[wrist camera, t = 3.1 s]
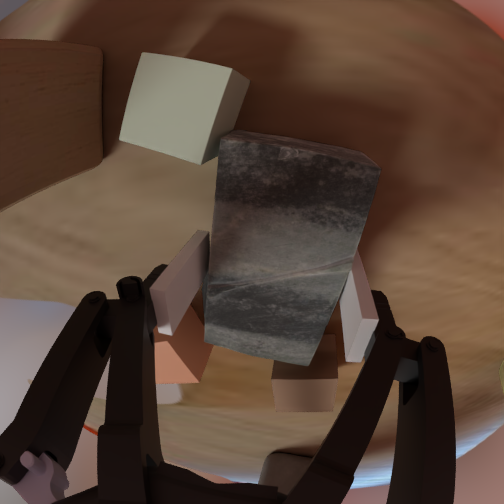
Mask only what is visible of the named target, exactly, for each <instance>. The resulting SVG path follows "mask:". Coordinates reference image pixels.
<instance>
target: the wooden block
mask: <svg viewBox="0 0 504 504" xmlns="http://www.w3.org/2000/svg"><path fill="white" fill-rule="evenodd" d="M102 69H103V53H102V50H101V49H100V48H99V47H95V46H89V45H82V44H75V43H67V42H58V41H47V40H31V39H0V212H2V211H4V210H5V209H7V208H9V207H11V206H13V205H15V204H17V203H18V202H20V201H22V200H24V199H26V198H28V197H30V196H32V195H34V194H36V193H38V192H40V191H43V190H45V189H47V188H49V187H51V186H53V185H56V184H58V183H60V182H62V181H65V180H67V179H69V178H72V177H74V176H77V175H79V174H82V173H84V172H87V171H89V170H92V169H93V168H95V167H97V166H98V165H99V164H100V163H101V162H102V158H103V139H102Z"/></svg>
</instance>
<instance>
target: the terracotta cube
mask: <svg viewBox="0 0 504 504" xmlns="http://www.w3.org/2000/svg"><path fill="white" fill-rule="evenodd" d="M153 332H154V336H155V379H156V384H174V383H199V382H200V380H201V377H202V374H203V372H204V369H205V367H206V364H207V361H208V359H209V356H210V353H211V351H212V348H213V346H214V345H213V344H209V343H206V342H204V334H205V327H204V326H203V324H202V322H201V321H200V319H199V318H198V316H197V314H196V313H195V311H194V310H193V308H192V306H191V305H189V307H188V309H187V310H186V312H185V314H184V316H183V318H182V319H181V321H180V323H179V325H178V326H177V328H176V330H175V332H174V334H173V335H172V336H171V335H167V334H163V333H159V331H158V327H157V325H156V327H155V328H154V330H153Z"/></svg>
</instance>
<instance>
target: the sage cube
mask: <svg viewBox="0 0 504 504" xmlns="http://www.w3.org/2000/svg"><path fill="white" fill-rule="evenodd" d="M249 84H250V80H249V79H247V78H246V77H244V76H243V75H241V74H240V73H238V72H237V71H235V70H234V69H232V68H228V67H224V66H220V65H216V64H211V63H207V62H202V61H197V60H192V59H186V58H181V57H175V56H168V55H161V54H153V53H145V52H142V55H141V57H140V61H139V64H138V67H137V70H136V73H135V77H134V80H133V83H132V87H131V91H130V94H129V98H128V102H127V106H126V110H125V114H124V119H123V123H122V128H121V132H120V137H119V140H121V141H124V142H128V143H131V144H135V145H138V146H142V147H145V148H148V149H152V150H155V151H158V152H162V153H165V154H168V155H171V156H174V157H177V158H181V159H184V160H187V161H190V162H193V163H196V164H199V165H202V164H204V163H205V162H207V161H209V160H211V159H213V158H215V157H217V156H219V148H220V141H221V138H222V137H224V136H226V135H227V134H229V133H230V131H231V130H233V129H234V126H235V123H236V120H237V117H238V114H239V111H240V109H241V106H242V103H243V100H244V98H245V95H246V92H247V89H248V87H249Z"/></svg>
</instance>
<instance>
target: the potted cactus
mask: <svg viewBox="0 0 504 504" xmlns="http://www.w3.org/2000/svg"><path fill="white" fill-rule="evenodd" d="M499 376H500V381H501V385H502V390H503V394H504V360H503V362H502V364H501V366H500V370H499Z"/></svg>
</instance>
